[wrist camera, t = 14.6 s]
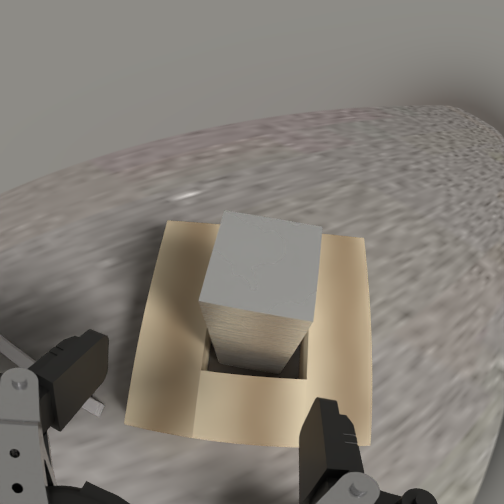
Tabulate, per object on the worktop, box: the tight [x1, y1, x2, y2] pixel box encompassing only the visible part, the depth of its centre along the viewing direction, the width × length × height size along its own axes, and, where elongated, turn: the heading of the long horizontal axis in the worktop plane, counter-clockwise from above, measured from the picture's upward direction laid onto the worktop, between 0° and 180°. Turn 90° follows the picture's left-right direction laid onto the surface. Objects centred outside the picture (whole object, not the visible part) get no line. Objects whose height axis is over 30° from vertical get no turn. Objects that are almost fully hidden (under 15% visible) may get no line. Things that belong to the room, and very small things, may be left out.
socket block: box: [124, 221, 372, 447], centre depth 20 cm, size 14×14×3 cm
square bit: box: [199, 210, 322, 374], centre depth 17 cm, size 4×4×11 cm
